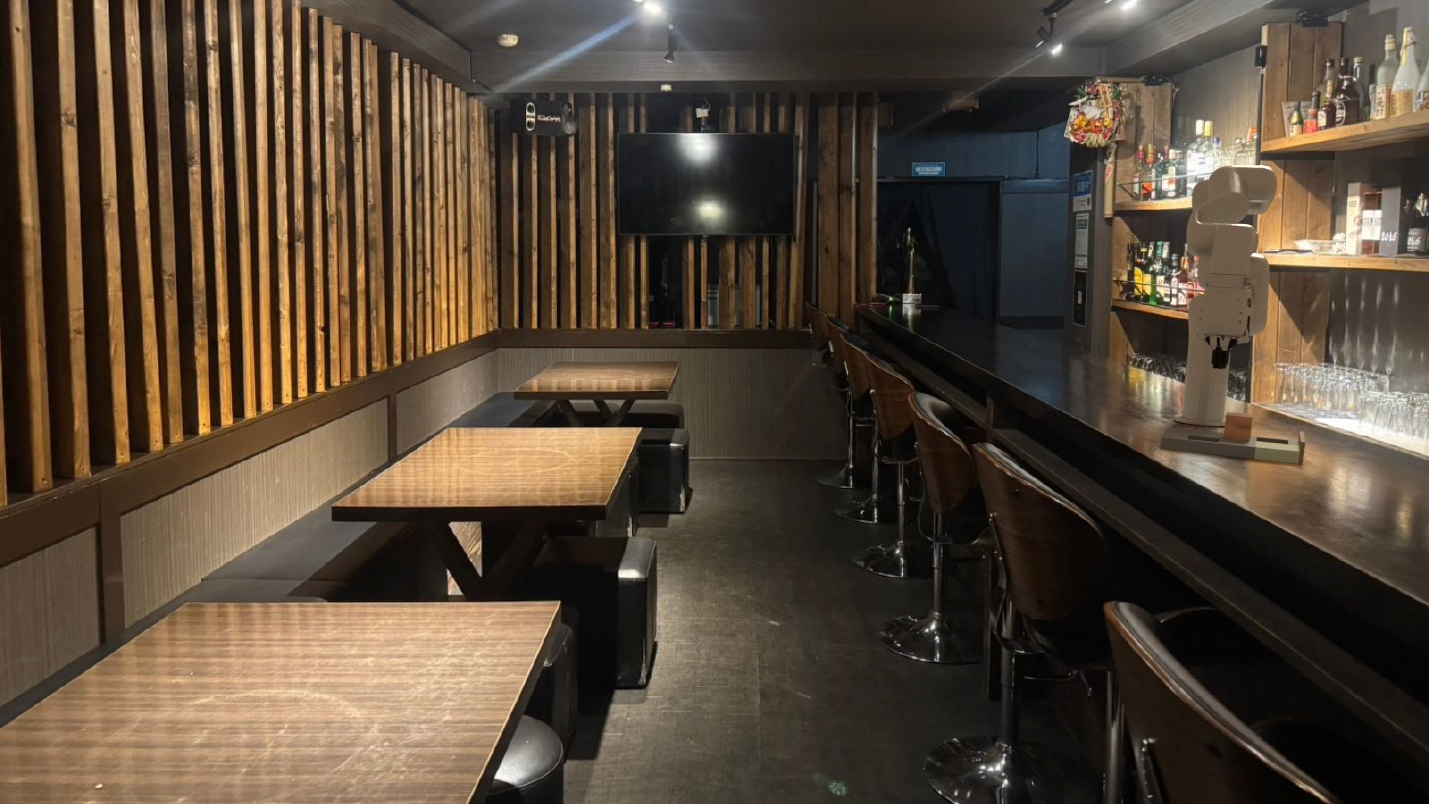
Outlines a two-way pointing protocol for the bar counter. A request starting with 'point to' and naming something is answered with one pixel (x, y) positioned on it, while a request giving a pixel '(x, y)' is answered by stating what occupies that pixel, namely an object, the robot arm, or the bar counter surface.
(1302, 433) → the deck
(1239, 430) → the block
